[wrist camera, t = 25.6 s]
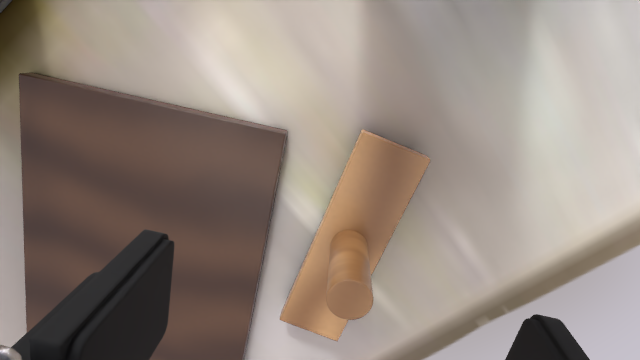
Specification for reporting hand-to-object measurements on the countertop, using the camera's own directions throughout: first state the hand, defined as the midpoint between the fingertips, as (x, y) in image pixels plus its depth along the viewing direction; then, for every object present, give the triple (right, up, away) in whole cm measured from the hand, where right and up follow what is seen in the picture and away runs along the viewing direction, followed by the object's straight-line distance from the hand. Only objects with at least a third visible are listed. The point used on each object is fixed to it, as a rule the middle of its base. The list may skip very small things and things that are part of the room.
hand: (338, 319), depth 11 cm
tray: (-13, -2, +19) cm, 23 cm away
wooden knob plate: (+1, 0, +17) cm, 17 cm away
